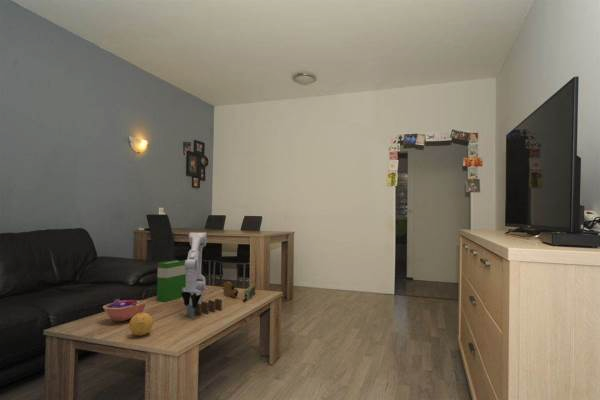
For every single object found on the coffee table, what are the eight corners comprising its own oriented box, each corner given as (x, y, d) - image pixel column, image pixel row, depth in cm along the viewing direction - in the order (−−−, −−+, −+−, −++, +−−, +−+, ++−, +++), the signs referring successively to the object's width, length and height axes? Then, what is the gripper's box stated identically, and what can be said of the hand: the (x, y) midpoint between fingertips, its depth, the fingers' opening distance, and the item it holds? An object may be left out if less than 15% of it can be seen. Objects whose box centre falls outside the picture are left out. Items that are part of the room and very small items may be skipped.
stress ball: (141, 330, 165) (141, 308, 165) (157, 333, 161) (158, 311, 162) (123, 337, 156) (124, 314, 156) (140, 340, 152) (141, 316, 153)
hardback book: (176, 295, 237) (177, 259, 238) (185, 296, 234) (185, 260, 236) (156, 301, 221) (157, 263, 222) (166, 302, 218) (166, 263, 219)
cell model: (150, 320, 181) (150, 298, 182) (107, 328, 168) (107, 304, 169) (139, 313, 194) (140, 292, 195) (99, 320, 181) (99, 297, 182)
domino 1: (192, 317, 186) (192, 306, 186) (186, 315, 189) (187, 304, 189) (194, 317, 187) (194, 305, 187) (188, 315, 190) (189, 304, 190)
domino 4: (213, 312, 196) (213, 301, 196) (208, 310, 199) (208, 300, 200) (215, 312, 197) (215, 301, 197) (209, 310, 200) (210, 299, 201)
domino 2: (199, 315, 189) (199, 304, 190) (194, 314, 193) (194, 303, 193) (201, 315, 190) (201, 304, 190) (196, 313, 193) (196, 302, 194)
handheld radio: (255, 294, 243) (246, 303, 218) (251, 294, 244) (241, 303, 219) (255, 284, 244) (246, 292, 219) (250, 284, 244) (241, 292, 219)
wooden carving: (240, 298, 230) (240, 282, 231) (235, 299, 227) (235, 283, 228) (225, 294, 241) (225, 279, 242) (219, 295, 238) (220, 280, 238)
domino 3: (206, 314, 193) (206, 303, 193) (201, 312, 196) (201, 301, 196) (208, 313, 194) (208, 302, 194) (203, 312, 197) (203, 301, 197)
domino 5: (220, 310, 200) (220, 300, 200) (214, 309, 203) (214, 298, 203) (221, 310, 200) (221, 299, 201) (216, 308, 204) (216, 298, 204)
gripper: (177, 280, 190) (176, 305, 190) (192, 284, 181) (191, 310, 180) (188, 278, 196) (188, 303, 195) (203, 282, 186) (203, 307, 186)
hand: (190, 306), depth 188 cm, fingers open, 7 cm apart
